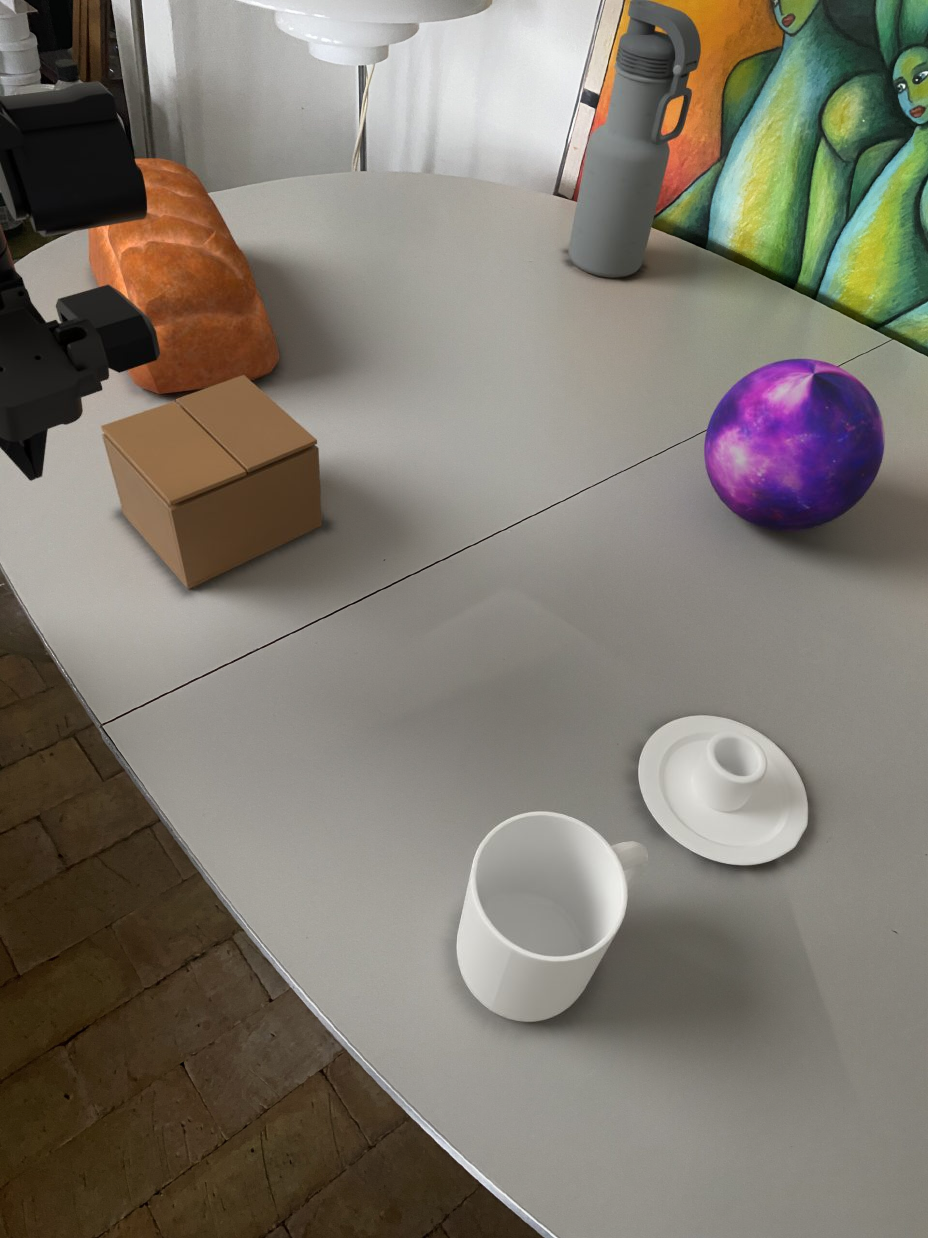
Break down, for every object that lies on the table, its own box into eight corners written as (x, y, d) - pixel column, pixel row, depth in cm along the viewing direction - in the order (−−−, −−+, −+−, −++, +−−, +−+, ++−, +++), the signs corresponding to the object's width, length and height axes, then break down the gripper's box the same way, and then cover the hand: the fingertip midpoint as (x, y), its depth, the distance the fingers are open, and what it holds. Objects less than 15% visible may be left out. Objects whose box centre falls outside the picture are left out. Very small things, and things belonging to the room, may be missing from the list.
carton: (188, 589, 70) (169, 502, 63) (123, 514, 75) (99, 425, 68) (322, 525, 76) (318, 439, 69) (254, 460, 81) (244, 373, 74)
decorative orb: (667, 458, 87) (713, 322, 76) (809, 460, 89) (873, 327, 78) (708, 565, 77) (767, 427, 66) (866, 565, 79) (949, 430, 68)
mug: (588, 845, 58) (623, 763, 51) (664, 955, 54) (714, 883, 46) (430, 926, 54) (442, 849, 46) (499, 1054, 49) (524, 992, 42)
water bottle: (658, 265, 114) (724, 14, 93) (616, 289, 109) (676, 29, 88) (595, 236, 118) (646, -11, 97) (552, 258, 113) (595, 2, 92)
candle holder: (834, 855, 60) (861, 824, 56) (671, 883, 57) (690, 853, 54) (759, 712, 67) (780, 677, 64) (613, 731, 65) (626, 697, 61)
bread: (135, 406, 85) (106, 279, 75) (85, 255, 103) (56, 136, 93) (291, 380, 90) (283, 258, 81) (217, 240, 108) (203, 127, 99)
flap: (170, 505, 64) (169, 501, 63) (101, 430, 69) (100, 425, 68) (246, 475, 67) (246, 471, 66) (175, 404, 72) (174, 400, 71)
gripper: (-199, 377, 38) (-66, 610, 50) (183, 266, 47) (220, 487, 59) (-268, 270, 44) (-133, 505, 55) (89, 188, 52) (140, 405, 64)
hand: (33, 475), depth 58 cm, fingers closed
